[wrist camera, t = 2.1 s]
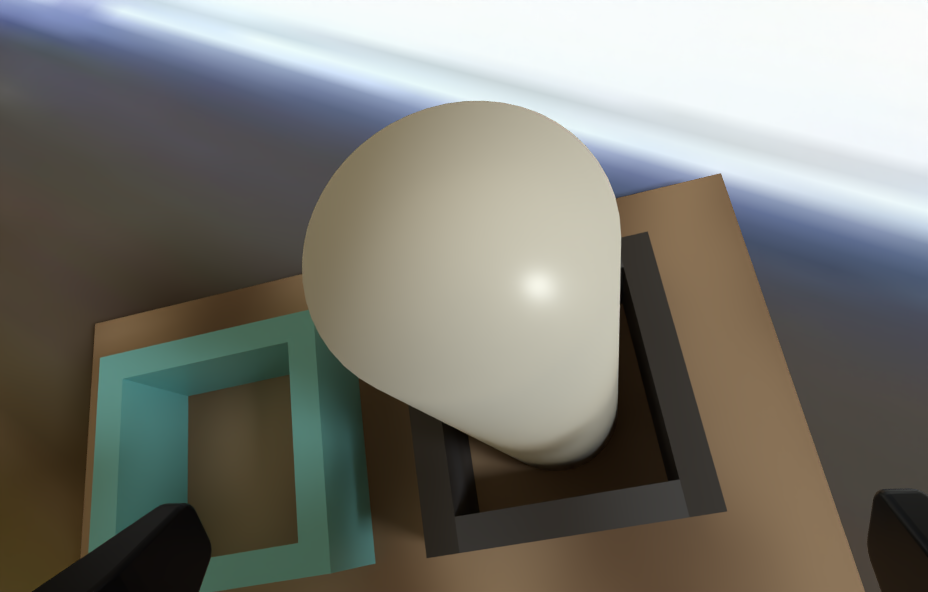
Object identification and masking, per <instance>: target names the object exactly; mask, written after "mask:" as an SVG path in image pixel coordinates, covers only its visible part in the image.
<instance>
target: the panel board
mask: <svg viewBox="0 0 928 592" xmlns="http://www.w3.org/2000/svg"><path fill="white" fill-rule="evenodd" d="M616 203H617V207H618V212H619V216H620V229H621V267H620V316H619V366H618V411H617V420H616V425H615V428H614V431H613V434H612V436H611V438H610V440H609V442H608V443H607V444H606V446H605V447H604V449H603V450H602V451H601V452H600V453H599V454H598V455H597V456H596V457H594V458H593V459H592V460H590V461H589V462H587V463H585V464H584V465H581V466H579V467H577V468H573V469H570V470H564V471H547V470H541V469H537V468H534V467H532V466H529V465H527V464H525V463H523V462H521V461H519V460H517V459H515V458H513V457H511V456H509V455H507V454H505V453H503V452H501V451H499V450H497V449H495V448H493V447H491V446H489V445H487V444H485V443H483V442H481V441H479V440H477V439H475V438H474V437H472V436H470V435H468V434H466V433H464V432H462V431H460V430H458V429H456V428H454V427H452V426H450V425H448V424H446V423H444V422H442V421H440V420H438V419H436V418H434V417H432V416H430V415H428V414H426V413H424V412H422V411H420V410H418V409H416V408H414V407H412V406H410V405H408V404H406V403H404V402H402V401H400V400H398V399H396V398H394V397H392V396H390V395H388V394H386V393H384V392H382V391H380V390H378V389H377V388H375V387H373V386H371V385H370V384H368V383H366V382H365V381H363V380H361V379H360V378H359V389H360V399H361V410H362V421H363V432H364V443H365V454H366V465H367V476H368V487H369V498H370V509H371V519H372V530H373V541H374V552H375V564H371V565H366V566H362V567H357V568H353V569H349V570H344V571H340V572H335V573H331V574H324V575H318V576H311V577H305V578H299V579H292V580H286V581H279V582H273V583H267V584H260V585H254V586H247V587H241V588H234V589H228V590H222V591H215V592H865V591H864V588H863V585H862V582H861V579H860V576H859V573H858V570H857V567H856V564H855V562H854V559H853V556H852V553H851V550H850V547H849V544H848V541H847V538H846V535H845V533H844V530H843V527H842V524H841V521H840V518H839V515H838V512H837V509H836V506H835V503H834V501H833V498H832V495H831V492H830V489H829V486H828V483H827V480H826V477H825V474H824V472H823V469H822V466H821V463H820V460H819V457H818V454H817V451H816V448H815V445H814V442H813V440H812V437H811V434H810V431H809V428H808V425H807V422H806V419H805V416H804V413H803V411H802V408H801V405H800V402H799V399H798V396H797V393H796V390H795V387H794V384H793V381H792V379H791V376H790V373H789V370H788V367H787V364H786V361H785V358H784V355H783V352H782V350H781V347H780V344H779V341H778V338H777V335H776V332H775V329H774V326H773V323H772V320H771V318H770V315H769V312H768V309H767V306H766V303H765V300H764V297H763V294H762V291H761V289H760V286H759V283H758V280H757V277H756V274H755V271H754V268H753V265H752V262H751V259H750V257H749V254H748V251H747V248H746V245H745V242H744V239H743V236H742V233H741V230H740V228H739V225H738V222H737V219H736V216H735V213H734V210H733V207H732V204H731V201H730V198H729V196H728V193H727V190H726V187H725V184H724V181H723V178H722V175H721V173H720V174H716V175H712V176H708V177H704V178H699V179H695V180H691V181H687V182H683V183H679V184H674V185H670V186H666V187H662V188H658V189H654V190H650V191H645V192H641V193H637V194H633V195H629V196H625V197H620V198H616ZM305 310H309V309H308V306H307V303H306V299H305V293H304V287H303V277H302V274H301V275H297V276H292V277H288V278H284V279H280V280H276V281H272V282H267V283H263V284H259V285H255V286H251V287H247V288H243V289H238V290H234V291H230V292H226V293H222V294H218V295H213V296H209V297H205V298H201V299H197V300H193V301H189V302H184V303H180V304H176V305H172V306H168V307H164V308H159V309H155V310H151V311H147V312H143V313H139V314H135V315H130V316H126V317H122V318H118V319H114V320H110V321H105V322H101V323H97V324H95V337H94V353H93V368H92V384H91V400H90V415H89V431H88V447H87V462H86V478H85V494H84V509H83V525H82V540H81V556H80V559H81V558H82V557H84V556H85V555H87V554H88V550H89V533H90V517H91V500H92V483H93V467H94V450H95V433H96V416H97V400H98V383H99V366H100V358H101V357H105V356H110V355H114V354H118V353H123V352H127V351H131V350H136V349H140V348H144V347H149V346H153V345H157V344H162V343H166V342H170V341H175V340H179V339H183V338H188V337H192V336H196V335H201V334H205V333H210V332H214V331H218V330H223V329H227V328H231V327H236V326H240V325H244V324H249V323H253V322H257V321H262V320H266V319H270V318H275V317H279V316H283V315H288V314H292V313H296V312H301V311H305ZM188 504H190V505H192V506H193V507H194V508H195V510H196V512H197V514H198V516H199V518H200V520H201V522H202V525H203V527H204V529H205V531H206V533H207V535H208V537H209V539H210V542H211V547H212V553H211V557H217V556H223V555H229V554H235V553H241V552H247V551H253V550H259V549H265V548H271V547H277V546H283V545H289V544H295V543H298V528H297V508H296V489H295V469H294V450H293V431H292V411H291V392H290V375H285V376H280V377H276V378H271V379H266V380H262V381H257V382H252V383H248V384H243V385H238V386H234V387H229V388H224V389H220V390H215V391H210V392H206V393H201V394H196V395H191V396H188Z"/></svg>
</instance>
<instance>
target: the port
mask: <svg viewBox="0 0 928 592" xmlns="http://www.w3.org/2000/svg"><path fill="white" fill-rule="evenodd" d="M285 375H290V392H291V411H292V431H293V450H294V469H295V489H296V508H297V528H298V543H295V544H289V545H283V546H277V547H271V548H265V549H259V550H253V551H247V552H241V553H235V554H229V555H223V556H217V557H211V559H210V562H209V565H208V568H207V571H206V574H205V576H204V579H203V582H202V585H201V588H200V591H199V592H215V591H222V590H228V589H234V588H241V587H247V586H254V585H260V584H267V583H273V582H279V581H286V580H292V579H299V578H305V577H311V576H318V575H324V574H331V573H335V572H340V571H344V570H349V569H353V568H357V567H362V566H366V565H371V564H375V552H374V541H373V530H372V519H371V509H370V498H369V487H368V476H367V465H366V454H365V443H364V432H363V421H362V410H361V399H360V389H359V378H358V377H357V376H356V375H355V374H353V373H352V372H351V371H350V370H348V369H347V368H346V367H345V366H344V365H343V364H342V363H341V362H340V361H339V360H338V359H337V358H336V357H335V356H334V355H333V353H332V352H331V351H330V350H329V348H328V347H327V345H326V344H325V342H324V341H323V339H322V338H321V337H320V335H319V333H318V331H317V329H316V327H315V325H314V322H313V320H312V318H311V315H310V312H309V310H305V311H301V312H296V313H292V314H288V315H283V316H279V317H275V318H270V319H266V320H262V321H257V322H253V323H249V324H244V325H240V326H236V327H231V328H227V329H223V330H218V331H214V332H210V333H205V334H201V335H196V336H192V337H188V338H183V339H179V340H175V341H170V342H166V343H162V344H157V345H153V346H149V347H144V348H140V349H136V350H131V351H127V352H123V353H118V354H114V355H110V356H105V357H101V358H100V366H99V383H98V400H97V416H96V433H95V450H94V467H93V483H92V500H91V517H90V533H89V550H88V553H90V552H91V551H93V550H94V549H96V548H97V547H99V546H100V545H102V544H103V543H104V542H106V541H107V540H109V539H110V538H112V537H113V536H115V535H116V534H118V533H119V532H121V531H122V530H124V529H125V528H127V527H128V526H130V525H131V524H133V523H134V522H135V521H137V520H138V519H140V518H141V517H143V516H144V515H146V514H147V513H149V512H150V511H152V510H153V509H155V508H156V507H158V506H159V505H162V504H166V503H188V396H191V395H196V394H201V393H206V392H210V391H215V390H220V389H224V388H229V387H234V386H238V385H243V384H248V383H252V382H257V381H262V380H266V379H271V378H276V377H280V376H285Z"/></svg>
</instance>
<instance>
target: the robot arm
mask: <svg viewBox="0 0 928 592" xmlns="http://www.w3.org/2000/svg"><path fill="white" fill-rule="evenodd" d="M867 546H868V553H869V557H870V561H871V564H872V567H873V569H874V572H875V575H876V578H877V580H878V583H879V586H880V589H881V592H928V495H926V494H925V493H923V492H921V491H919V490H916V489H882V490H879V491H878V492H876V494H875V496H874V499H873V505H872V511H871V518H870V525H869V531H868V539H867ZM211 553H212V547H211V542H210V539H209V537H208V535H207V533H206V531H205V529H204V527H203V525H202V522H201V520H200V518H199V516H198V514H197V512H196V510H195V508H194V507H193V506H192V505H190V504H188V503H166V504H162V505H159V506H158V507H156V508H155V509H153V510H152V511H150V512H149V513H147V514H146V515H144V516H143V517H141V518H140V519H138V520H137V521H135V522H134V523H133V524H131V525H130V526H128V527H127V528H125V529H124V530H122V531H121V532H119V533H118V534H116V535H115V536H113V537H112V538H110V539H109V540H107V541H106V542H104V543H103V544H102V545H100V546H99V547H97V548H96V549H94V550H93V551H91V552H90V553H88V554H87V555H85V556H84V557H82V558H81V559H79V560H78V561H76V562H75V563H73V564H72V565H71V566H69V567H68V568H66V569H65V570H63V571H62V572H60V573H59V574H57V575H56V576H54V577H53V578H51V579H50V580H48V581H47V582H45V583H44V584H43V585H41V586H40V587H38V588H37V589H35V590H34V591H32V592H199V591H200V588H201V585H202V582H203V579H204V576H205V574H206V571H207V568H208V565H209V562H210V559H211Z"/></svg>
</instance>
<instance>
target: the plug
mask: <svg viewBox="0 0 928 592" xmlns="http://www.w3.org/2000/svg"><path fill="white" fill-rule="evenodd" d="M620 267H621V229H620V216H619V212H618V207H617V203H616V199H615V195H614V193H613V190H612V188H611V185H610V183H609V180H608V178H607V176H606V174H605V172H604V171H603V169H602V167H601V166H600V164H599V162H598V161H597V159H596V158H595V157H594V156H593V154H592V153H591V152H590V151H589V149H588V148H587V147H586V146H585V145H584V144H583V143H582V142H581V141H580V140H579V139H578V138H577V137H576V136H575V135H574V134H572V133H571V132H570V131H568V130H567V129H566V128H564V127H563V126H561V125H560V124H558V123H557V122H555V121H553V120H551V119H549V118H548V117H546V116H544V115H542V114H540V113H537V112H534V111H532V110H529V109H526V108H523V107H520V106H515V105H511V104H506V103H500V102H490V101H463V102H456V103H448V104H443V105H439V106H435V107H431V108H427V109H424V110H421V111H419V112H416V113H413V114H411V115H408V116H406V117H404V118H402V119H400V120H398V121H396V122H394V123H392V124H390V125H388V126H387V127H385V128H384V129H382V130H381V131H379V132H377V133H376V134H374V135H373V136H372V137H371V138H369V139H368V140H367V141H365V142H364V143H363V144H362V145H360V146H359V147H358V148H357V149H356V150H355V151H354V152H353V153H352V154H351V155H350V156H349V157H348V158H347V159H346V160H345V161H344V162H343V164H342V165H341V166H340V167H339V169H338V170H337V171H336V172H335V173H334V175H333V176H332V178H331V179H330V181H329V182H328V184H327V185H326V187H325V189H324V190H323V192H322V194H321V196H320V198H319V200H318V202H317V204H316V206H315V208H314V211H313V214H312V216H311V219H310V222H309V225H308V228H307V233H306V237H305V242H304V248H303V258H302V277H303V287H304V293H305V299H306V303H307V306H308V309H309V312H310V315H311V318H312V320H313V322H314V325H315V327H316V329H317V331H318V333H319V335H320V337H321V338H322V339H323V341H324V342H325V344H326V345H327V347H328V348H329V350H330V351H331V352H332V353H333V355H334V356H335V357H336V358H337V359H338V360H339V361H340V362H341V363H342V364H343V365H344V366H345V367H346V368H347V369H348V370H350V371H351V372H352V373H353V374H355V375H356V376H357V377H358V378H360V379H361V380H363V381H365V382H366V383H368V384H370V385H371V386H373V387H375V388H377V389H378V390H380V391H382V392H384V393H386V394H388V395H390V396H392V397H394V398H396V399H398V400H400V401H402V402H404V403H406V404H408V405H410V406H412V407H414V408H416V409H418V410H420V411H422V412H424V413H426V414H428V415H430V416H432V417H434V418H436V419H438V420H440V421H442V422H444V423H446V424H448V425H450V426H452V427H454V428H456V429H458V430H460V431H462V432H464V433H466V434H468V435H470V436H472V437H474V438H475V439H477V440H479V441H481V442H483V443H485V444H487V445H489V446H491V447H493V448H495V449H497V450H499V451H501V452H503V453H505V454H507V455H509V456H511V457H513V458H515V459H517V460H519V461H521V462H523V463H525V464H527V465H529V466H532V467H534V468H537V469H541V470H547V471H564V470H570V469H573V468H577V467H579V466H581V465H584V464H585V463H587V462H589V461H590V460H592V459H593V458H594V457H596V456H597V455H598V454H599V453H600V452H601V451H602V450H603V449H604V447H605V446H606V444H607V443H608V442H609V440H610V438H611V436H612V434H613V431H614V428H615V425H616V420H617V411H618V366H619V316H620Z"/></svg>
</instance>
